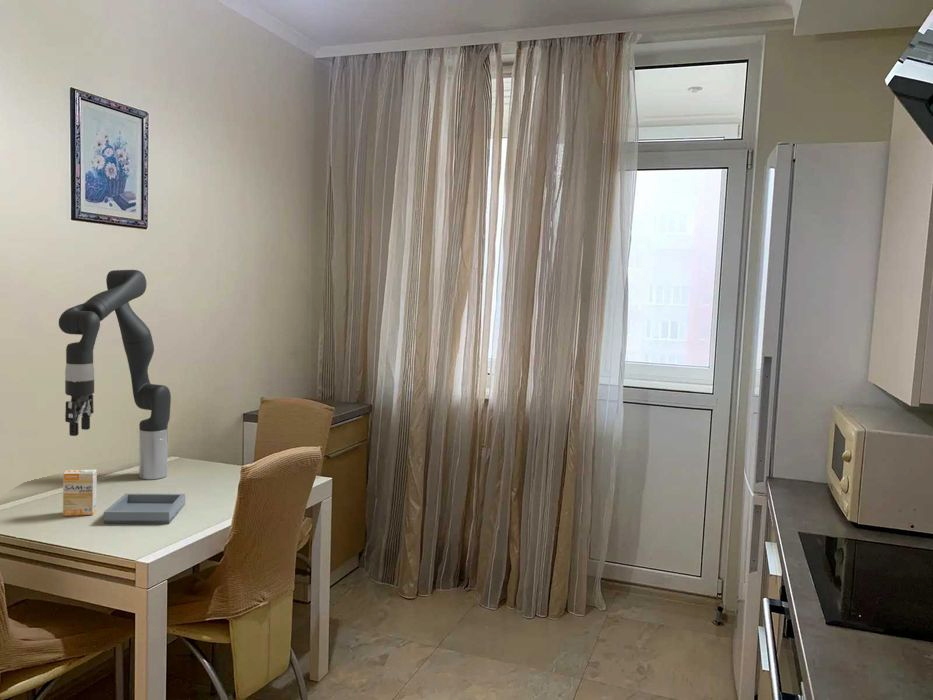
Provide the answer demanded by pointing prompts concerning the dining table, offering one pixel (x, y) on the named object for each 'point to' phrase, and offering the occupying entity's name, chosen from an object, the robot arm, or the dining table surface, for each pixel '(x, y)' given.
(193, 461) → the dining table surface
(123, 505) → the tray
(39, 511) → the dining table surface
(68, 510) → the supplement box
